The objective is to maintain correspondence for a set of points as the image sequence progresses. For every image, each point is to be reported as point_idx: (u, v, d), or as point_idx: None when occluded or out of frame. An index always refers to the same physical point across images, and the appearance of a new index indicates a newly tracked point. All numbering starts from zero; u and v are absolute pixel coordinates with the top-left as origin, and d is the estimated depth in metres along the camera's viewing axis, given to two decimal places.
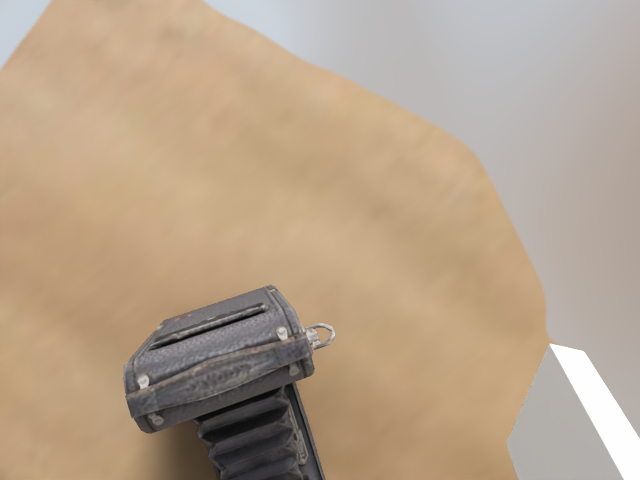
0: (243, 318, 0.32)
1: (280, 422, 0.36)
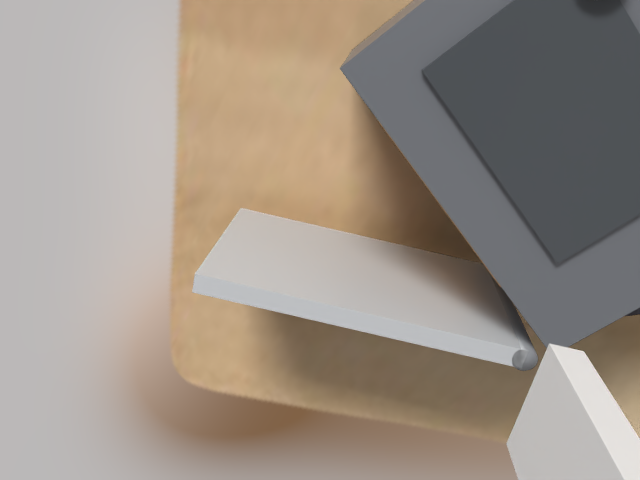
0: None
1: None
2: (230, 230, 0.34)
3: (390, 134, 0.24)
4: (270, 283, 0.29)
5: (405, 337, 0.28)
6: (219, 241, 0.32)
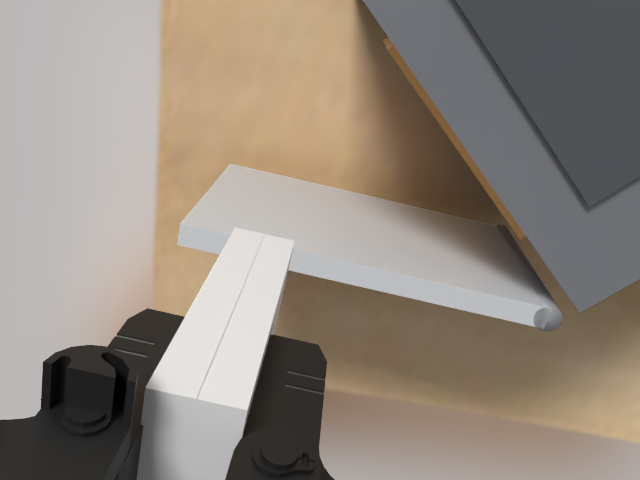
0: None
1: None
2: (219, 183, 0.31)
3: (403, 57, 0.21)
4: None
5: (416, 294, 0.25)
6: (207, 193, 0.29)
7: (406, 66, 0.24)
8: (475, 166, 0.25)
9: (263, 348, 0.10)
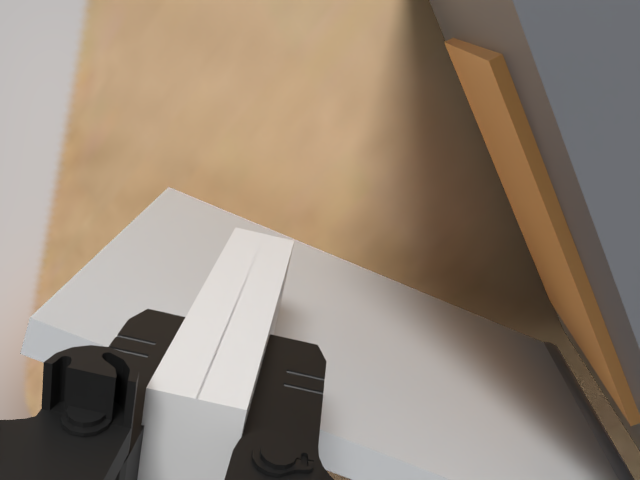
0: None
1: None
2: (139, 225, 0.19)
3: (546, 82, 0.10)
4: None
5: None
6: (111, 244, 0.17)
7: (515, 97, 0.13)
8: (591, 296, 0.14)
9: (262, 348, 0.10)
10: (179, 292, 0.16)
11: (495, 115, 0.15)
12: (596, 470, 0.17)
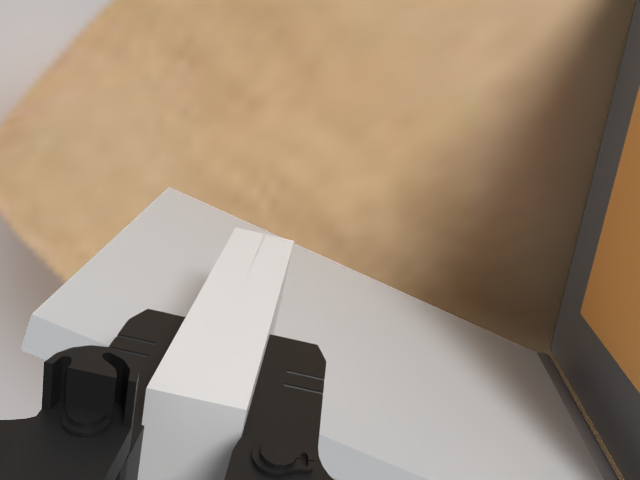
0: None
1: None
2: (139, 225, 0.19)
3: None
4: None
5: None
6: (112, 243, 0.17)
7: None
8: None
9: (262, 348, 0.10)
10: (179, 293, 0.16)
11: None
12: None
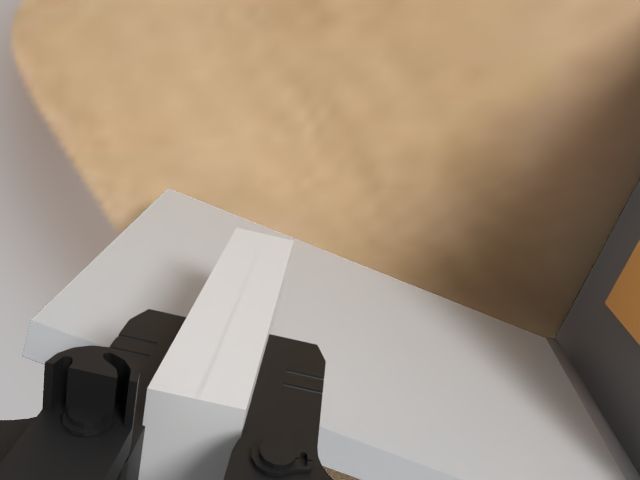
0: None
1: None
2: (139, 227, 0.19)
3: None
4: None
5: None
6: (112, 246, 0.17)
7: None
8: None
9: (261, 348, 0.10)
10: (180, 293, 0.16)
11: None
12: (600, 465, 0.17)
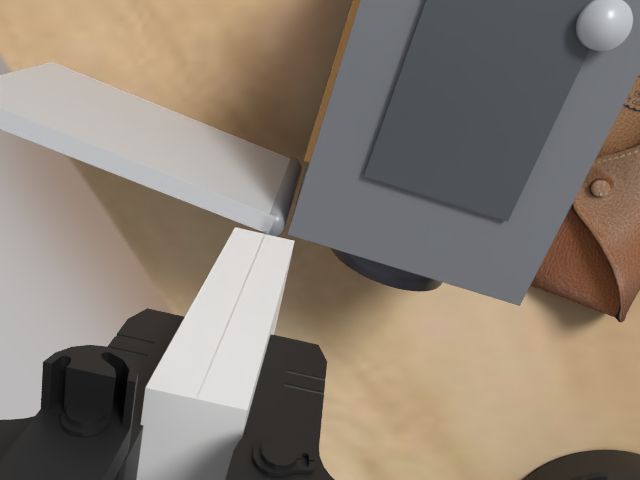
0: None
1: None
2: (23, 72, 0.33)
3: None
4: (33, 114, 0.28)
5: (159, 187, 0.29)
6: (2, 75, 0.31)
7: None
8: (331, 85, 0.28)
9: (263, 348, 0.10)
10: (36, 96, 0.31)
11: None
12: (263, 191, 0.31)
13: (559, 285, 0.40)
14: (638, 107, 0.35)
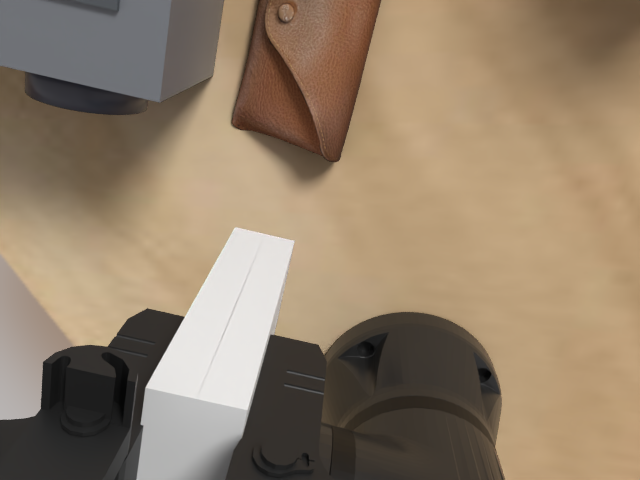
0: None
1: None
2: None
3: None
4: None
5: None
6: None
7: None
8: None
9: (263, 348, 0.10)
10: None
11: None
12: None
13: (271, 124, 0.41)
14: None
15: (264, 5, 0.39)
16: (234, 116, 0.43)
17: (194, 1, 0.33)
